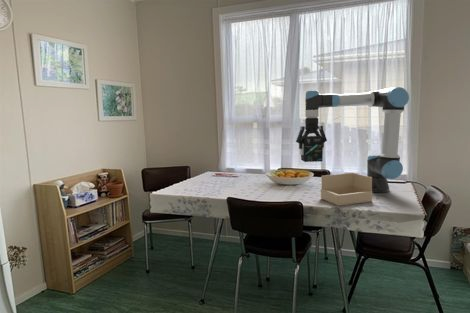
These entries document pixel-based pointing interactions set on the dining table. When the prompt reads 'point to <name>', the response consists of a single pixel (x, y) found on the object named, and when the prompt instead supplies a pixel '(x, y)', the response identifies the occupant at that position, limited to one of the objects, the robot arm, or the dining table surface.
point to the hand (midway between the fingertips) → (311, 154)
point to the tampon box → (313, 149)
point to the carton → (346, 189)
